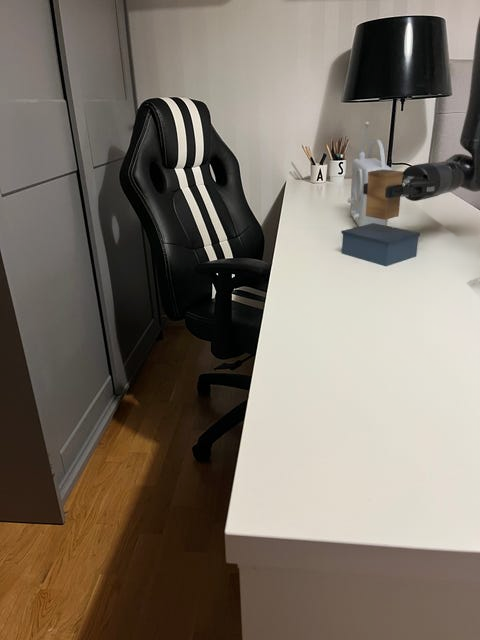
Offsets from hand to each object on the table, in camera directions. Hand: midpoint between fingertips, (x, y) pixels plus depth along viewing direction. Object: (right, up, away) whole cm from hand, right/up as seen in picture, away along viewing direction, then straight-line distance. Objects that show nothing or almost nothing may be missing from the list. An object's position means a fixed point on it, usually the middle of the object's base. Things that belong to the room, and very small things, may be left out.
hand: (375, 190), depth 101 cm
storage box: (+2, -12, +7) cm, 14 cm away
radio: (+6, 0, +34) cm, 34 cm away
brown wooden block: (+2, -4, +4) cm, 6 cm away
